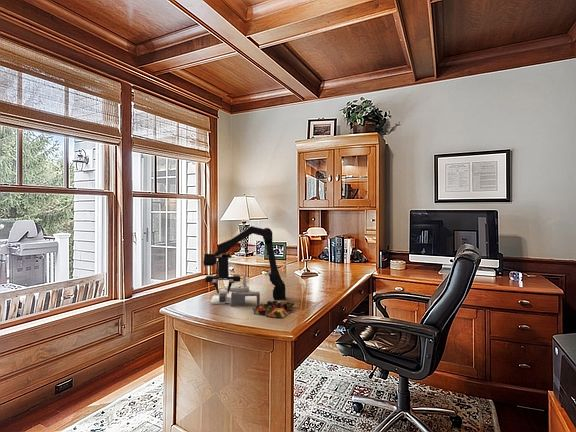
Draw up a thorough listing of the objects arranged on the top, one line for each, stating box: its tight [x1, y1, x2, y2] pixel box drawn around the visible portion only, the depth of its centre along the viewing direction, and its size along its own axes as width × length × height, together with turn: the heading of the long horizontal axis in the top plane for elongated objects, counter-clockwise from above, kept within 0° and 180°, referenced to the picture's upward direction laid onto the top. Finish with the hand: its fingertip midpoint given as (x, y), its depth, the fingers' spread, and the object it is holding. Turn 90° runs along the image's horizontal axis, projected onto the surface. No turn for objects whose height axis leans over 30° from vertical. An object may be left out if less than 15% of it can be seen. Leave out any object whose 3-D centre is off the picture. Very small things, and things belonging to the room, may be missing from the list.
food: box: [252, 300, 297, 319], centre depth 170 cm, size 22×19×4 cm
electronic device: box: [224, 274, 250, 292], centre depth 212 cm, size 5×10×15 cm
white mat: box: [209, 294, 231, 305], centre depth 189 cm, size 12×14×1 cm
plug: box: [218, 289, 228, 302], centre depth 188 cm, size 4×12×4 cm, turn 7°
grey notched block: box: [230, 291, 261, 307], centre depth 181 cm, size 14×5×6 cm, turn 97°
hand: (223, 294), depth 191 cm, fingers open, 5 cm apart
